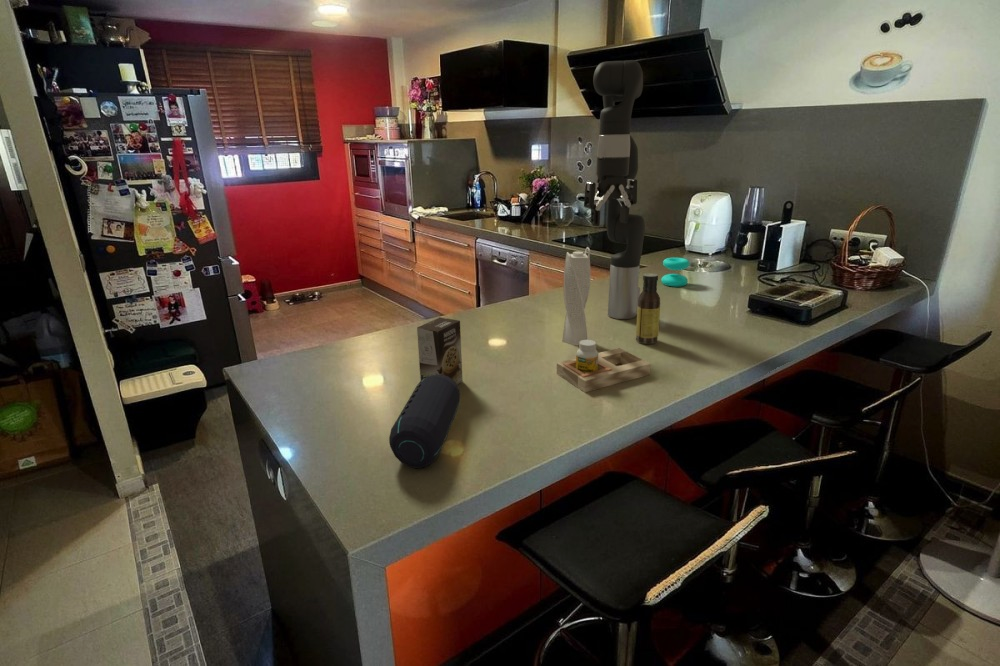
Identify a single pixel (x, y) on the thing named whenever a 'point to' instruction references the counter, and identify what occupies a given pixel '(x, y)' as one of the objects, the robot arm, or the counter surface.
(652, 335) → the sauce bottle
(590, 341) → the supplement bottle
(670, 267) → the donuts
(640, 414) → the counter surface
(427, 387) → the portable speaker
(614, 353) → the cup caddy
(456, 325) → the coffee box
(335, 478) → the counter surface
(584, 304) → the skyscraper
